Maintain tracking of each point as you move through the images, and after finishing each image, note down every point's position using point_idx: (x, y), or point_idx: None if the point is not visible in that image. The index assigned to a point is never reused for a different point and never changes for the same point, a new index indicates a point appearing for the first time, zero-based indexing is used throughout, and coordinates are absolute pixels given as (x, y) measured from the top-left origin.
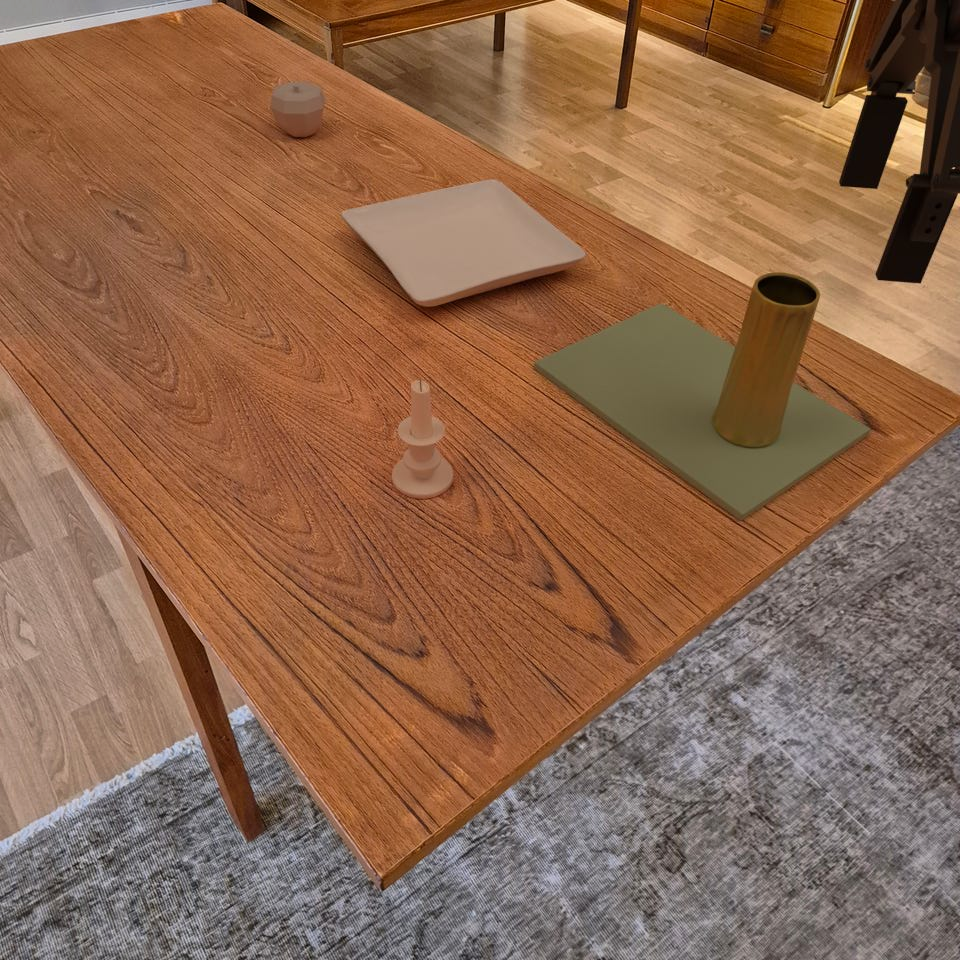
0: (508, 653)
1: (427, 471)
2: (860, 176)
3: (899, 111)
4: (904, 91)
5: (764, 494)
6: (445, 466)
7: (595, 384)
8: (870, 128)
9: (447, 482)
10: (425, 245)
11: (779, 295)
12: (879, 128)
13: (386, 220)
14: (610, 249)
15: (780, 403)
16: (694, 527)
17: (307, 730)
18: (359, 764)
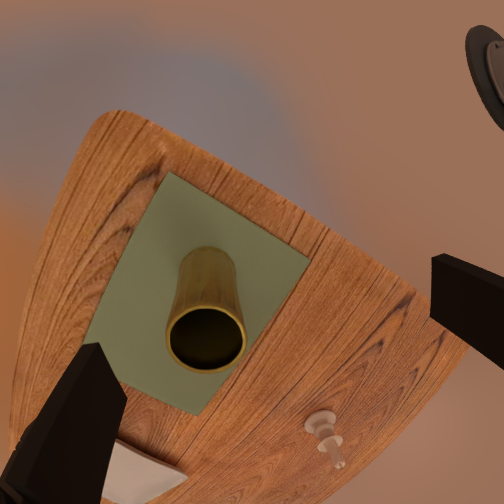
0: (415, 342)
1: (332, 424)
2: (109, 388)
3: (43, 472)
4: (4, 496)
5: (285, 248)
6: (312, 418)
7: (203, 381)
8: (91, 473)
9: (324, 412)
10: (117, 476)
11: (173, 332)
12: (76, 459)
13: (114, 492)
14: (37, 389)
15: (225, 266)
16: (322, 286)
17: (441, 380)
18: (451, 361)
